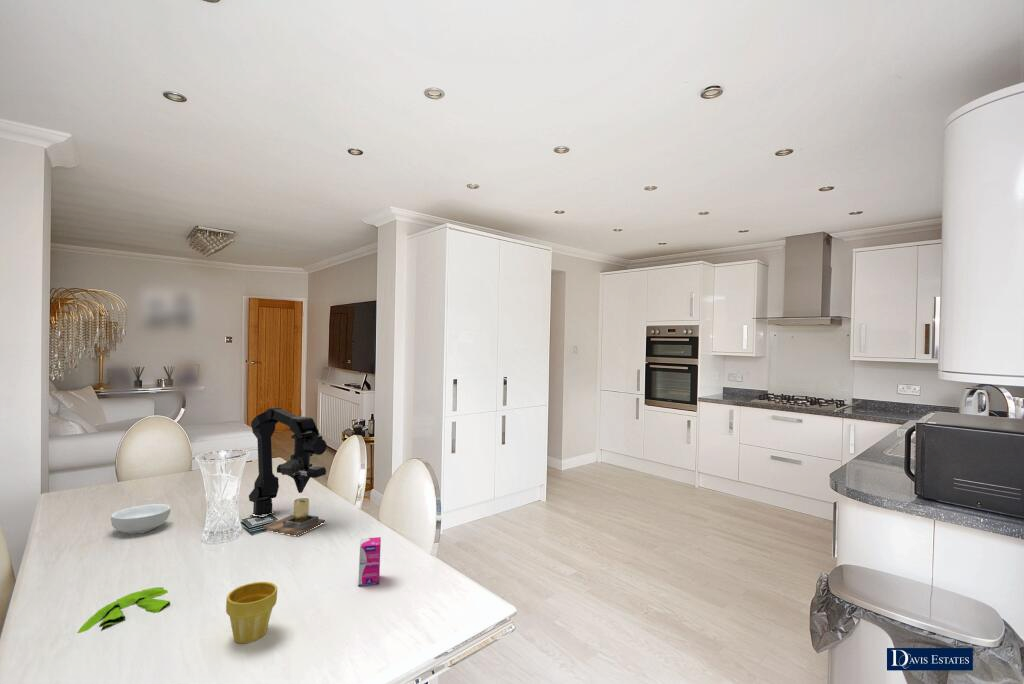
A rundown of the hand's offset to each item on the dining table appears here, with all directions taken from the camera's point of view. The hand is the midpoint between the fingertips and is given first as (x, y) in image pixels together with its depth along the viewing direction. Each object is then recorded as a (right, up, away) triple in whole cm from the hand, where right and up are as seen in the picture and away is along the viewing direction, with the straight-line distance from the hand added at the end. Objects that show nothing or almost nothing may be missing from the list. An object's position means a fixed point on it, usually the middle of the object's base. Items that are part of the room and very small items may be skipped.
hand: (300, 492), depth 174 cm
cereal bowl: (-55, -12, -7) cm, 57 cm away
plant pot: (+20, -11, -67) cm, 71 cm away
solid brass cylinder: (+1, -11, -2) cm, 11 cm away
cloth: (-15, -11, -59) cm, 62 cm away
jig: (-2, -13, -1) cm, 13 cm away
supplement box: (+39, -12, -41) cm, 58 cm away
